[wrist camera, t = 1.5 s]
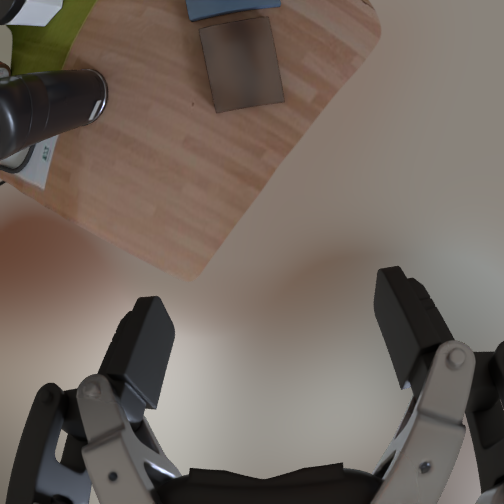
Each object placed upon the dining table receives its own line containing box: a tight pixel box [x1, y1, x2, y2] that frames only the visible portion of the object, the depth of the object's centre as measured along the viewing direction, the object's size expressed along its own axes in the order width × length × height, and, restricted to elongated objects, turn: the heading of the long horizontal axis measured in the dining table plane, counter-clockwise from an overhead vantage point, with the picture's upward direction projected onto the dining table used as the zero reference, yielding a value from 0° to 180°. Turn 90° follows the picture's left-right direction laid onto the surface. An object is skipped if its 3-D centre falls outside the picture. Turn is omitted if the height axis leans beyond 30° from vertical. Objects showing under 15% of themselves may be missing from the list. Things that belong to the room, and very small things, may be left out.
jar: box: [0, 0, 63, 26], centre depth 16 cm, size 9×8×12 cm
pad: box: [199, 17, 285, 113], centre depth 30 cm, size 9×12×2 cm
